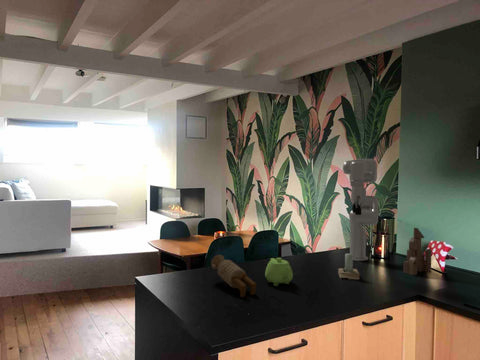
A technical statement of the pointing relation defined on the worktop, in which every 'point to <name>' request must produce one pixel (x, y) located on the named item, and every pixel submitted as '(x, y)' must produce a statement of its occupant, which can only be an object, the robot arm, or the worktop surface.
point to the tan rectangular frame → (348, 274)
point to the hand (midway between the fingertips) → (356, 213)
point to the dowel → (348, 262)
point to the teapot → (278, 271)
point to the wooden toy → (417, 256)
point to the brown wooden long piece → (233, 275)
